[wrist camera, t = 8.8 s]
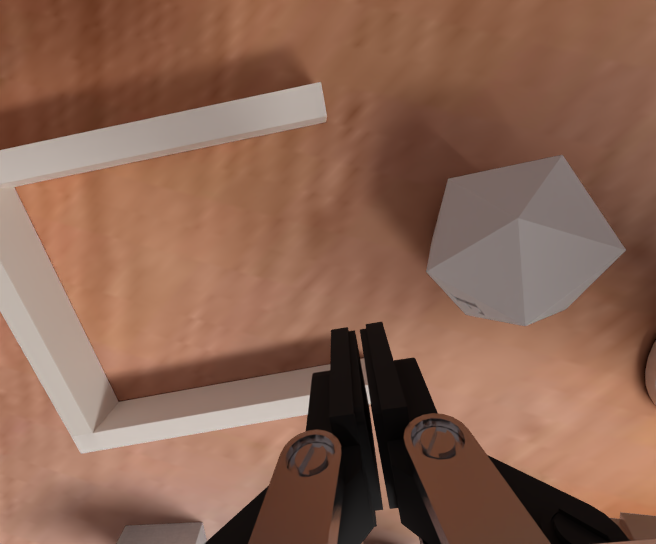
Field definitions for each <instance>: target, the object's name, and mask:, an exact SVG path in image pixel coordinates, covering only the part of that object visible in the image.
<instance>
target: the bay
mask: <svg viewBox="0 0 656 544" xmlns="http://www.w3.org/2000/svg"><path fill="white" fill-rule="evenodd" d="M326 119H327V113H326V108H325V102H324V96H323V91H322V85H321V82H318V83H313V84H309V85H304V86H299V87H295V88H290V89H285V90H281V91H276V92H271V93H266V94H262V95H257V96H252V97H248V98H243V99H238V100H234V101H229V102H224V103H219V104H215V105H210V106H205V107H201V108H196V109H191V110H187V111H182V112H177V113H172V114H168V115H163V116H158V117H154V118H149V119H144V120H140V121H135V122H130V123H125V124H121V125H116V126H111V127H107V128H102V129H97V130H93V131H88V132H83V133H78V134H74V135H69V136H64V137H60V138H55V139H50V140H46V141H41V142H36V143H31V144H27V145H22V146H17V147H13V148H8V149H3V150H0V311H1V313H2V315H3V317H4V319H5V320H6V322H7V324H8V326H9V327H10V329H11V331H12V333H13V334H14V336H15V338H16V340H17V341H18V343H19V345H20V347H21V349H22V350H23V352H24V354H25V356H26V357H27V359H28V361H29V363H30V364H31V366H32V368H33V370H34V371H35V373H36V375H37V377H38V379H39V380H40V382H41V384H42V386H43V387H44V389H45V391H46V393H47V394H48V396H49V398H50V400H51V401H52V403H53V405H54V407H55V409H56V410H57V412H58V414H59V416H60V417H61V419H62V421H63V423H64V424H65V426H66V428H67V430H68V431H69V433H70V435H71V437H72V439H73V440H74V442H75V444H76V446H77V447H78V449H79V451H80V453H81V454H82V453H88V452H93V451H99V450H105V449H111V448H116V447H122V446H128V445H134V444H140V443H145V442H151V441H157V440H163V439H168V438H174V437H180V436H186V435H192V434H197V433H203V432H209V431H215V430H221V429H226V428H232V427H238V426H244V425H249V424H255V423H261V422H267V421H273V420H278V419H284V418H290V417H296V416H301V415H307V414H308V408H309V399H310V390H311V381H312V374H313V373H316V372H322V371H329V370H330V364H328V365H322V366H317V367H311V368H306V369H300V370H294V371H289V372H283V373H278V374H272V375H266V376H261V377H255V378H249V379H244V380H238V381H233V382H227V383H221V384H216V385H210V386H205V387H199V388H193V389H188V390H182V391H177V392H171V393H165V394H160V395H154V396H149V397H143V398H137V399H132V400H126V401H121V402H118V400H117V397H116V395H115V393H114V391H113V389H112V387H111V385H110V383H109V381H108V379H107V377H106V375H105V373H104V371H103V369H102V367H101V365H100V363H99V360H98V358H97V356H96V354H95V352H94V350H93V348H92V346H91V344H90V342H89V340H88V338H87V336H86V334H85V332H84V330H83V328H82V326H81V323H80V321H79V319H78V317H77V315H76V313H75V311H74V309H73V307H72V305H71V303H70V301H69V299H68V297H67V295H66V293H65V291H64V288H63V286H62V284H61V282H60V280H59V278H58V276H57V274H56V272H55V270H54V268H53V266H52V264H51V262H50V260H49V258H48V256H47V254H46V251H45V249H44V247H43V245H42V243H41V241H40V239H39V237H38V235H37V233H36V231H35V229H34V227H33V225H32V223H31V221H30V219H29V217H28V214H27V212H26V210H25V208H24V206H23V204H22V202H21V200H20V198H19V196H18V194H17V192H16V190H15V188H14V187H17V186H22V185H26V184H31V183H36V182H41V181H46V180H50V179H55V178H60V177H65V176H70V175H75V174H79V173H84V172H89V171H94V170H99V169H103V168H108V167H113V166H118V165H123V164H127V163H132V162H137V161H142V160H147V159H152V158H156V157H161V156H166V155H171V154H176V153H180V152H185V151H190V150H195V149H200V148H205V147H209V146H214V145H219V144H224V143H229V142H233V141H238V140H243V139H248V138H253V137H257V136H262V135H267V134H272V133H277V132H282V131H286V130H291V129H296V128H301V127H306V126H310V125H315V124H320V123H325V122H326ZM360 361H361V366H362V371H363V377H364V382H365V388H366V393H367V398H368V404H371V402H370V395H369V388H368V381H367V375H366V368H365V361H364V358H362V359H360Z"/></svg>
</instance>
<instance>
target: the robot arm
mask: <svg viewBox="0 0 656 544" xmlns="http://www.w3.org/2000/svg"><path fill="white" fill-rule="evenodd" d="M360 334H361V340H362V347H363V354H364V361H365V368H366V375H367V381H368V388H369V395H370V402H371V408H372V414H373V420H374V426H375V431H376V436H377V442H378V447H379V453H380V458H381V464H382V469H383V474H384V480H385V485H386V491H387V496H388V501H389V507H390V509H392V508H399V513H400V519H401V523H402V524H403V525H404V526H405V527H407V528H408V529H409V530H411V531H412V532H413V533H415V534H416V535H417V536H418V537H419V540H420V544H656V516H649V515H639V514H630V513H620V519H615V518H609V517H608V516H606V515H605V514H604V513H602V512H601V511H599V510H597V509H596V508H594V507H592V506H591V505H589V504H587V503H585V502H583V501H581V500H579V499H577V498H575V497H573V496H571V495H568V494H566V493H564V492H562V491H560V490H558V489H556V488H554V487H552V486H550V485H548V484H546V483H544V482H542V481H540V480H538V479H536V478H533V477H531V476H529V475H527V474H525V473H523V472H521V471H519V470H517V469H515V468H513V467H511V466H509V465H507V464H505V463H503V462H500V461H498V460H496V459H494V458H492V457H490V456H488V455H487V454H486V453H485V451H484V450H483V449H482V447H481V446H480V445H479V443H478V442H477V440H476V439H475V438H474V436H473V435H472V433H471V432H470V431H469V429H468V428H467V427H466V426H465V425H464V424H463V423H462V422H460V421H459V420H457V419H455V418H454V417H451V416H448V415H444V414H438V413H437V410H436V408H435V406H434V403H433V401H432V398H431V396H430V393H429V391H428V388H427V386H426V383H425V381H424V379H423V376H422V374H421V371H420V369H419V366H418V364H417V361H416V359H415V358H408V359H401V360H394V361H393V357H392V354H391V351H390V347H389V344H388V340H387V337H386V334H385V330H384V327H383V323H382V322H377V323H371V324H366V329H361V330H360ZM645 379H646V387H647V390H648V394H649V396H650V398H651V399H652V401H653V402H654V404H655V405H656V341H655V342H654V344H653V347H652V349H651V351H650V354H649V356H648V360H647V365H646V370H645ZM375 510H383V506H382V498H381V491H380V484H379V476H378V469H377V462H376V454H375V447H374V440H373V433H372V425H371V418H370V411H369V404H368V398H367V393H366V388H365V382H364V377H363V371H362V366H361V361H360V355H359V350H358V345H357V339H356V334H355V331H349V330H348V327H346V328H340V329H334V330H331V362H330V370H329V371H322V372H316V373H313V374H312V381H311V390H310V399H309V408H308V417H307V426H306V432H303V433H300V434H298V435H297V436H295V437H294V438H292V439H291V440H290V441H289V442H288V443H287V444H286V445H285V446H284V448H283V450H282V452H281V454H280V456H279V459H278V462H277V464H276V467H275V470H274V473H273V476H272V478H271V481H270V484H269V486H268V487H267V488H266V489H264V490H263V491H262V492H261V493H260V494H259V495H258V496H257V497H256V498H255V499H253V500H252V501H251V502H250V503H249V504H248V505H247V506H246V507H245V508H243V509H242V510H241V511H240V512H239V513H238V514H237V515H236V516H235V517H233V518H232V519H231V520H230V521H229V522H228V523H227V524H226V525H225V526H223V527H222V528H221V529H220V530H219V531H218V532H217V533H216V534H215V535H213V536H212V537H211V538H210V539H209V540H208V541H207V542H206V543H205V544H363V541H364V539H365V538H366V537H367V535H368V534H369V533H370V532H371V530H372V529H373V528H374V527H375V526H377V524H376V515H375Z"/></svg>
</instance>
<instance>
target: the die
mask: <svg viewBox="0 0 656 544" xmlns="http://www.w3.org/2000/svg"><path fill="white" fill-rule="evenodd" d="M625 251H626V249H625V248H624V246H623V245H622V243H621V242H620V240H619V239H618V237H617V236H616V234H615V233H614V231H613V230H612V228H611V227H610V225H609V224H608V222H607V221H606V219H605V218H604V216H603V215H602V213H601V212H600V210H599V209H598V207H597V206H596V204H595V203H594V201H593V200H592V198H591V197H590V195H589V194H588V192H587V191H586V189H585V188H584V186H583V185H582V183H581V182H580V180H579V179H578V177H577V176H576V174H575V173H574V171H573V170H572V168H571V167H570V165H569V164H568V162H567V161H566V159H565V158H564V156H563V155H559V156H554V157H549V158H545V159H540V160H535V161H530V162H525V163H521V164H516V165H511V166H506V167H502V168H497V169H492V170H487V171H482V172H478V173H473V174H468V175H463V176H459V177H454V178H449V179H448V181H447V185H446V189H445V192H444V196H443V200H442V204H441V207H440V211H439V215H438V219H437V223H436V226H435V230H434V234H433V238H432V242H431V247H430V253H429V259H428V264H427V270H426V272H427V273H428V274H429V275H430V276H431V278H432V279H433V280H434V281H435V282H436V283H437V284H438V285H439V286H440V287H441V288H442V289H443V291H444V292H445V293H446V294H447V295H448V296H449V297H450V298H451V299H452V300H453V301H454V302H455V303H456V305H457V306H458V307H459V308H460V309H461V310H462V311H463V312H464V313H465V314H466V315H469V316H475V317H480V318H485V319H490V320H496V321H501V322H506V323H511V324H517V325H522V326H527V325H529V324H532V323H534V322H537V321H539V320H541V319H544V318H546V317H549V316H551V315H553V314H556V313H558V312H561V311H563V310H565V309H567V308H568V307H569V306H570V305H571V304H572V303H573V302H574V301H575V300H576V299H577V298H578V297H579V296H580V295H581V294H582V293H583V292H584V291H585V290H586V289H587V288H588V287H589V286H590V285H591V284H592V283H593V282H594V281H595V280H596V279H597V278H598V277H599V276H600V275H601V274H602V273H603V272H604V271H605V270H606V269H607V268H608V267H609V266H610V265H611V264H613V263H614V262H615V261H616V260H617V259H618V258H619V257H620V256H621V255H622V254H623V253H624V252H625Z"/></svg>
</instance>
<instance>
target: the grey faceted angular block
mask: <svg viewBox="0 0 656 544" xmlns="http://www.w3.org/2000/svg"><path fill="white" fill-rule="evenodd" d="M206 542H207V540H206V535H205V531H204V526H203V522H193V523H172V524H151V525H130V526H125V528H124V530H123V532H122V534H121V535H120V537H119V539H118V541H117V543H116V544H205V543H206Z"/></svg>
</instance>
